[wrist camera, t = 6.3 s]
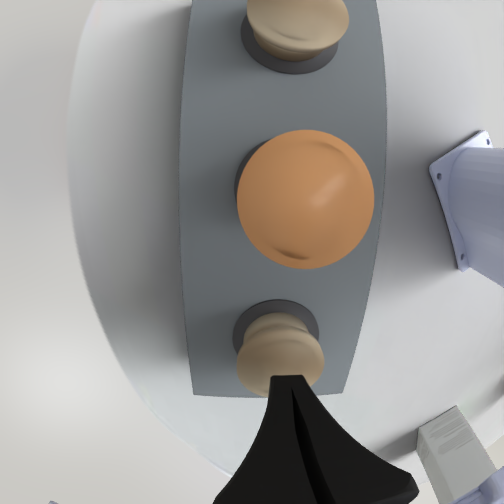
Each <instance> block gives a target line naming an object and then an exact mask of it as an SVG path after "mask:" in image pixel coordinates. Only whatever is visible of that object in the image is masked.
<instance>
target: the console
mask: <svg viewBox="0 0 504 504" xmlns="http://www.w3.org/2000/svg"><path fill="white" fill-rule="evenodd" d="M342 1H343V2H344V4H345V6H346V8H347V11H348V14H349V25H348V28H347V30H346V32H345V33H344V35H343V36H342V37H341V39H340V40H339V41H338V42H337V43H336V44H335V45H333V46H332V47H330V48H328V49H325V50H323V51H322V52H321V53H320V54H319V55H318V56H316V57H314V58H312V59H309V60H306V61H297V62H296V61H286V60H282V59H279V58H276V57H274V56H272V55H270V54H269V53H267V52H266V51H265V50H263V49H262V48H261V47H260V45H259V44H258V43H257V41H256V39H255V37H254V33H253V29H252V27H251V25H250V23H249V21H248V17H247V0H192V6H191V13H190V20H189V28H188V35H187V44H186V53H185V63H184V74H183V86H182V100H181V118H180V142H179V233H180V258H181V277H182V292H183V305H184V317H185V328H186V338H187V347H188V356H189V364H190V372H191V380H192V387H193V394H194V395H203V396H218V397H245V398H268V397H264V396H260V395H257V394H255V393H253V392H251V391H249V390H248V389H247V388H245V387H244V385H243V384H242V383H241V382H240V380H239V378H238V375H237V356H238V352H239V350H240V348H241V347H242V345H243V340H244V334H245V332H246V330H247V328H248V327H249V325H250V324H251V323H252V322H253V321H255V320H256V319H257V318H259V317H261V316H263V315H266V314H270V313H278V312H281V313H288V314H292V315H294V316H296V317H298V318H299V319H301V320H302V321H303V322H304V323H305V325H306V326H307V329H308V331H309V333H310V334H311V335H313V336H314V337H315V338H316V340H317V341H318V343H319V345H320V347H321V350H322V352H323V355H324V368H323V371H322V373H321V375H320V377H319V378H318V380H317V381H316V382H315V383H314V384H313V385H312V386H310V387H311V389H312V390H313V392H314V393H315V395H328V394H338V393H342V392H343V389H344V386H345V383H346V380H347V377H348V374H349V370H350V367H351V364H352V360H353V357H354V353H355V350H356V346H357V342H358V338H359V334H360V331H361V327H362V322H363V318H364V314H365V309H366V305H367V300H368V296H369V291H370V286H371V280H372V275H373V269H374V264H375V258H376V251H377V245H378V238H379V230H380V222H381V214H382V204H383V194H384V181H385V165H386V139H387V107H386V81H385V66H384V55H383V45H382V36H381V29H380V22H379V15H378V9H377V4H376V0H342ZM296 130H316V131H321V132H325V133H328V134H331V135H333V136H335V137H337V138H339V139H341V140H342V141H344V142H345V143H347V144H348V145H349V146H350V147H352V148H353V149H354V150H355V151H356V153H357V154H358V155H359V156H360V157H361V159H362V160H363V162H364V163H365V165H366V167H367V169H368V171H369V174H370V177H371V179H372V184H373V188H374V209H373V215H372V218H371V222H370V225H369V227H368V229H367V231H366V233H365V235H364V236H363V238H362V240H361V241H360V242H359V243H358V245H357V246H356V247H355V248H354V249H353V250H352V251H351V252H350V253H348V254H347V255H346V256H345V257H343V258H342V259H340V260H338V261H336V262H334V263H332V264H330V265H327V266H324V267H320V268H314V269H296V268H291V267H286V266H284V265H281V264H278V263H276V262H274V261H272V260H270V259H269V258H267V257H266V256H265V255H263V254H262V253H261V252H260V251H259V250H258V249H257V248H256V247H255V246H254V245H253V244H252V243H251V241H250V240H249V238H248V237H247V235H246V233H245V231H244V229H243V227H242V225H241V222H240V218H239V214H238V208H237V192H238V186H239V181H240V178H241V175H242V173H243V170H244V168H245V166H246V165H247V163H248V161H249V160H250V158H251V157H252V156H253V154H254V153H255V152H256V151H257V150H258V149H259V148H260V147H261V146H263V145H264V144H265V143H266V142H268V141H269V140H271V139H273V138H275V137H276V136H279V135H281V134H284V133H287V132H291V131H296Z"/></svg>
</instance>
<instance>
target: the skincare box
mask: <svg viewBox="0 0 504 504" xmlns="http://www.w3.org/2000/svg"><path fill="white" fill-rule="evenodd" d="M416 452H417V454H418V456H419V458H420V460H421V462H422V464H423V467H424V469H425V471H426V473H427V476H428V478H429V480H430V482H431V485H432V487H433V489H434V492H435V494H436V497H437V499H438V502H439V504H448V503H450V502H452V501H454V500H456V499H458V498H459V497H461V496H463V495H465V494H466V493H468V492H470V491H471V490H473V489H475V488H476V487H478V486H479V485H480V484H481V483H482V482H483V481H484V480H485V479H487V478H488V477H489V476H490V475H492V474H493V473H495V472H496V471H497V469H496V468H495V466H494V464H493V462H492V460H491V459H490V457H489V455H488V454H487V452H486V450H485V449H484V447H483V445H482V444H481V442H480V441H479V439H478V437H477V436H476V434H475V433H474V431H473V429H472V428H471V426H470V425H469V423H468V422H467V420H466V419H465V417H464V416H463V414H462V413H461V411H460V410H459V408H458V407H457V406H454V407H453V408H451V409H450V410H448V411H447V412H445V413H443V414H442V415H440V416H438V417H437V418H435V419H433V420H431V421H430V422H428V423H426V424H424V425H422V426H420V427H419V430H418V439H417V448H416Z"/></svg>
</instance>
